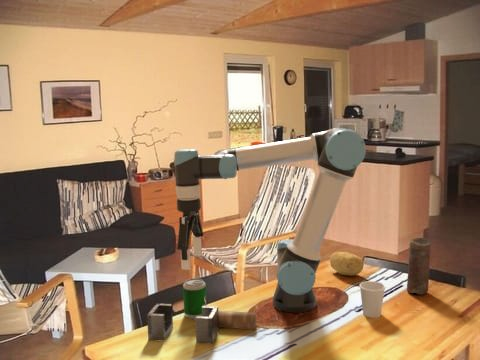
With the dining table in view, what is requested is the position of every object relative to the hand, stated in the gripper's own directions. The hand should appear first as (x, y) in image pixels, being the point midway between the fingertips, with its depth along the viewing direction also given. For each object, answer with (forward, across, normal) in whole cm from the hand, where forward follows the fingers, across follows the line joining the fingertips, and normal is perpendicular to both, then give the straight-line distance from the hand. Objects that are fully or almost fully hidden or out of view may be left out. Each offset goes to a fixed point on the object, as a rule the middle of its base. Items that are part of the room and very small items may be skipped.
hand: (192, 262), depth 162 cm
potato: (+21, -50, +50) cm, 74 cm away
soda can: (+20, -3, -1) cm, 20 cm away
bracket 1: (+20, +12, -8) cm, 24 cm away
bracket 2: (+20, +11, +7) cm, 24 cm away
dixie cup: (+21, -12, +57) cm, 62 cm away
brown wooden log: (+20, +3, +13) cm, 24 cm away
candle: (+22, -34, +75) cm, 85 cm away
